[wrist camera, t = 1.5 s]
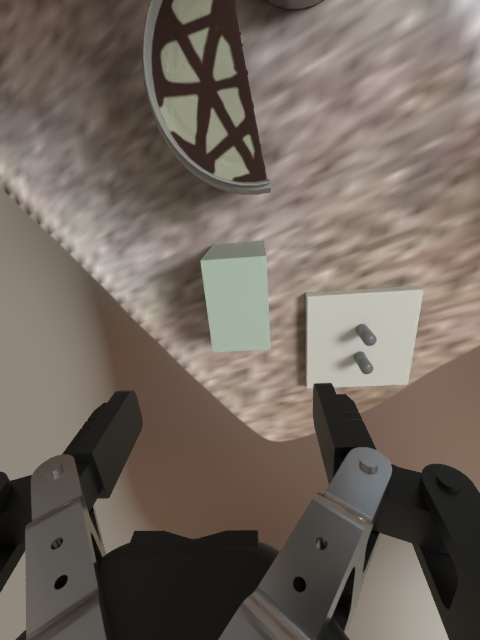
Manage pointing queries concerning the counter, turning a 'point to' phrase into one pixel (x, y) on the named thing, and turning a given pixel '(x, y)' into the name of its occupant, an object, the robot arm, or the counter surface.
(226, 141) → the food container
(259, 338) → the block
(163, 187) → the counter surface
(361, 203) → the counter surface
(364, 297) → the stub plate
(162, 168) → the counter surface
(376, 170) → the counter surface
